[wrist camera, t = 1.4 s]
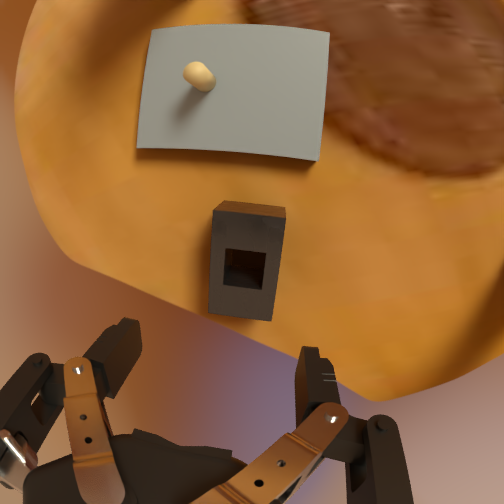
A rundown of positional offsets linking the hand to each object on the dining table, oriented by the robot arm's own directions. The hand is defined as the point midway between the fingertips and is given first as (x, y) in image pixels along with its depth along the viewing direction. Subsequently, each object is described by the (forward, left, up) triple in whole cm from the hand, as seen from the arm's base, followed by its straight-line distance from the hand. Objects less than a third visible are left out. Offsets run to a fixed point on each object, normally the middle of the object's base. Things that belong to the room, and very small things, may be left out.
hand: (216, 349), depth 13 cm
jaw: (0, 0, -15) cm, 15 cm away
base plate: (+3, -15, -15) cm, 21 cm away
